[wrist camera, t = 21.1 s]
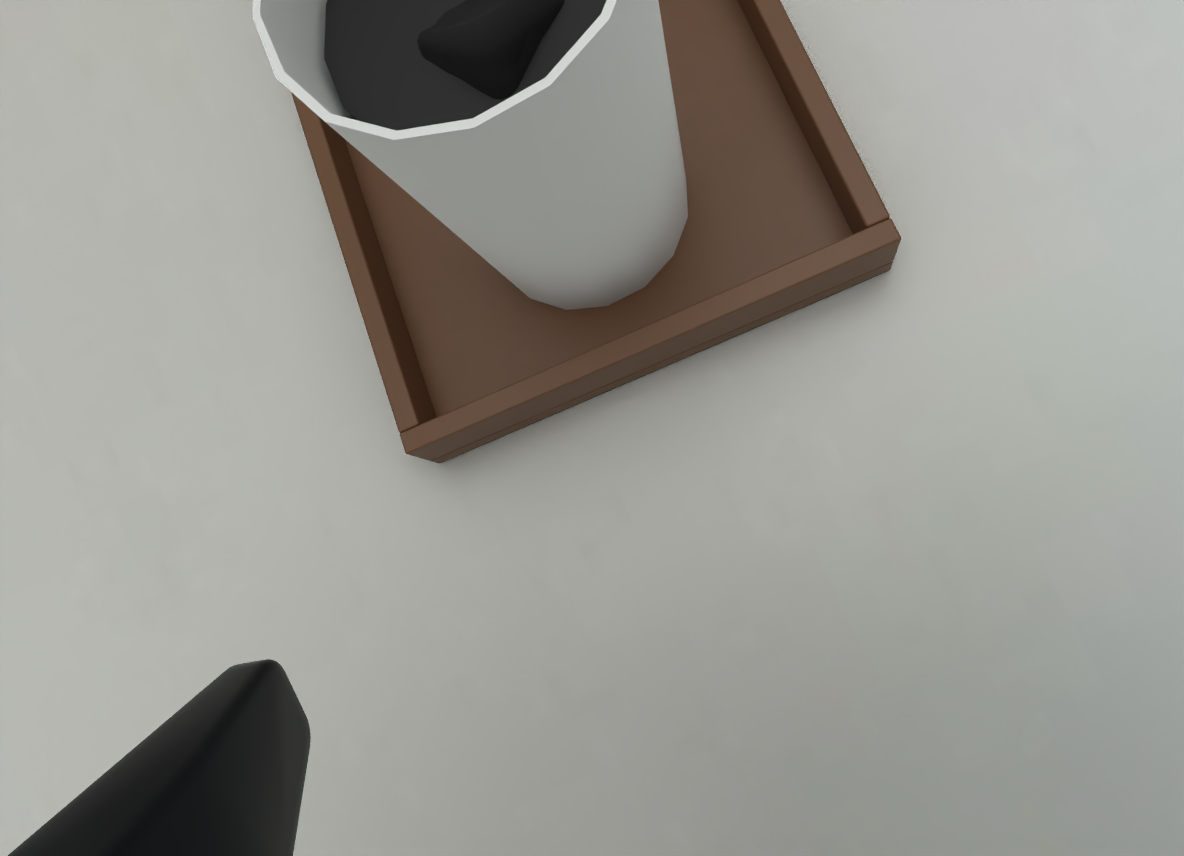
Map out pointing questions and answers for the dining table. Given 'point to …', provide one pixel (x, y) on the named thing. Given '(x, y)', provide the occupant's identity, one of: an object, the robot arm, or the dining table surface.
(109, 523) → the dining table surface
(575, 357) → the tray
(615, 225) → the white paper cup
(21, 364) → the dining table surface
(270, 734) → the robot arm
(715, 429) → the dining table surface
